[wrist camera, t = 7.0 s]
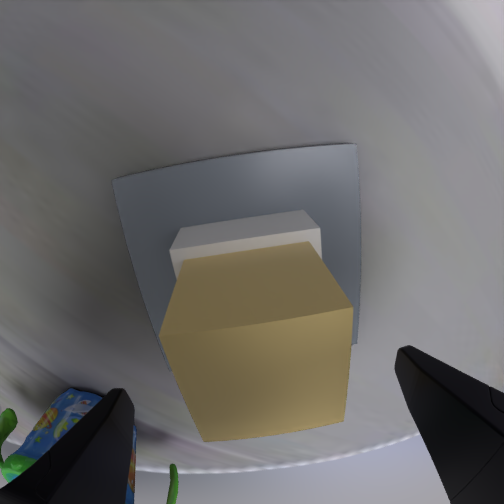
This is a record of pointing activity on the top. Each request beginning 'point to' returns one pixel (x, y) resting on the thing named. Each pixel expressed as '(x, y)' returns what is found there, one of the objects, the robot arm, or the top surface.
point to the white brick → (244, 236)
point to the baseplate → (242, 210)
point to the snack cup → (53, 428)
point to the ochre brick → (259, 342)
